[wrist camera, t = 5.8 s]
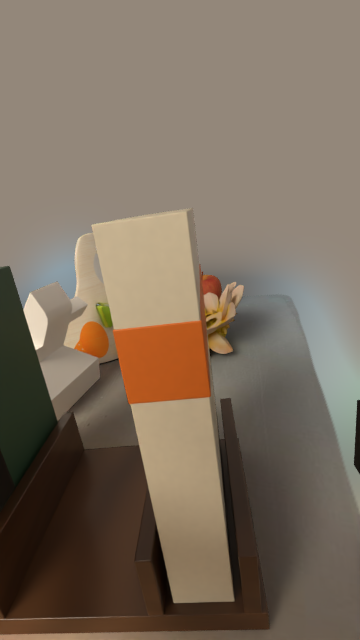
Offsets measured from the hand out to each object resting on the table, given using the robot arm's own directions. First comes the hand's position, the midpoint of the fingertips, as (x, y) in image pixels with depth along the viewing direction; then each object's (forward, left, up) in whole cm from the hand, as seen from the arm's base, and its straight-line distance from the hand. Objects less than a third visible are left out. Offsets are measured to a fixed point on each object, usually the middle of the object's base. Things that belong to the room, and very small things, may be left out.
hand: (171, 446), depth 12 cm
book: (+3, -5, -10) cm, 12 cm away
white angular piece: (+26, -10, -11) cm, 30 cm away
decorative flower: (+17, -30, -11) cm, 37 cm away
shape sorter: (+30, -27, -11) cm, 42 cm away
